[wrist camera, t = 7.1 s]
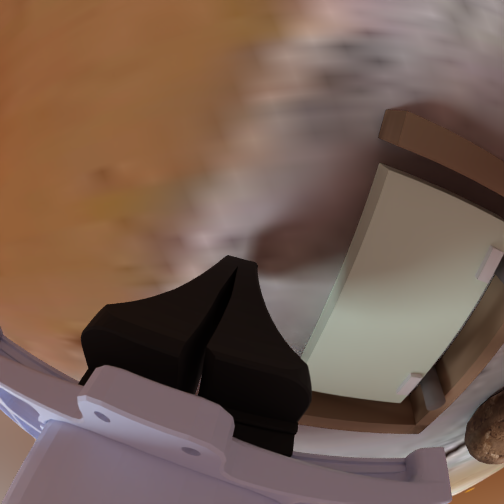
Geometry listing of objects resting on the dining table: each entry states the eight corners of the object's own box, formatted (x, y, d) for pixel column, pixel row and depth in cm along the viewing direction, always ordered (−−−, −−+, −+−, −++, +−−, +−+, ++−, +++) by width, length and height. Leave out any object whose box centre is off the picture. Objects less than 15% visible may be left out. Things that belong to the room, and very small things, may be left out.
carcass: (413, 406, 17) (419, 439, 14) (280, 388, 17) (275, 427, 15) (543, 196, 9) (577, 218, 6) (385, 109, 10) (412, 111, 7)
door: (395, 379, 16) (400, 407, 14) (296, 361, 17) (293, 391, 15) (494, 212, 11) (518, 231, 9) (376, 160, 11) (391, 171, 9)
